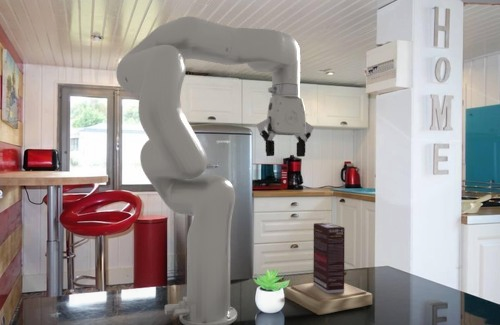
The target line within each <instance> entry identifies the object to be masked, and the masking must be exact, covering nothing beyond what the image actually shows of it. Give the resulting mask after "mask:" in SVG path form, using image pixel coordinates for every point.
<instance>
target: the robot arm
mask: <svg viewBox="0 0 500 325" xmlns="http://www.w3.org/2000/svg"><path fill="white" fill-rule="evenodd" d="M300 53H301V52H300V46H299V45H298V42H297V40H296V39H295V38H294V37H293V36H291V35H290V34H288V33H285V32H281V31H279V30H275V29H267V28H249V27H234V26H233V27H232V26H228V25H225V24H221V23H217V22H214V21H210V20H207V19H204V18H199V17H197V16H190V15H189V16H187V15H186V16H182V17H178V18H177V19H174V20H171V21H168V22H166V23H164V24H161V25H159V26H157V27H156V28H155V29H153V30H152V31H151V32H150V33H149V34H148V35H146V37H144V39H142V40H141V41H140V42H139V43H137V45H136V46H135V47H133V48H132V49H130V51H128V52H127V53H126V54H125V55H124V56H123V57H121V59H120V61H119V62H118V65H117V67H116V72H115V73H116V80H117V82H118V85H119V86H120V88H121V89H122V90H123V91H125V93H127V94H130V95H133V96H139V99H138V117H139V118H138V119H139V121H140V124H141V128H142V129H143V131H144V132H145V134H146V136H147V137H148V140H147V141H146V142H145V143H144V144H143V146H142V148H141V150H140V156H139V157H140V165H141V168H142V170H143V173H144V175H145V176H146V178H147V179H148V180H149V182H150V184H151V185H152V187H153V188H154V190H155V191H156V193H157V194H158V195H159V197H160V198H161V199H162V201H163V202H164V204H165V205H166V206H167V207H168V209H170V210H171V211H172V212H174V213H176V214H178V215H183V216H192V217H193V218H192V221H191V223H190V226H189V228H188V232H187V236H186V296H182V300H181V301H178V303H169V304H165V305H164V313H165V315H170V314H173V316H174V317H177V316H178V317H179V321H180V323H181V324H183V325H232V323H234V322H235V321H236V320H237V319H238V312H237V311H238V310H236V309H235V307H232V306H231V230H232V229H231V228H232V219H233V218H232V217H233V213H234V208H235V202H236V191H235V188H234V186H233V184H232V183H231V181H230V180H229V179H227V178H226V177H224V176H222V175H218V174H212V173H211V174H210V173H209V174H208V173H204V172H205V171H206V169H207V166H208V156H207V155H208V154H207V152H206V150H205V148H204V146H203V145H202V143H201V141H200V140H199V138H198V136H197V135H196V133H195V131H194V130H193V127H192V126H191V124H190V123H189V121H188V120H187V117H186V115H185V113H184V110H183V108H182V104H181V94H182V93H181V92H182V86H183V84H184V79H185V78H186V71H187V70H186V69H187V68H186V66H187V65H186V61H185V60H199V61H205V62H209V63H215V64H221V65H225V66H226V65H229V66H231V65H232V66H234V65H236V66H237V65H242V64H247V66H248V67H249V68H250V69H251V70H253V71H255V72H259V73H271V77H272V78H271V80H272V81H271V87H270V86H269V87H268V90H267V91H268V93H269V94H270V93H271V97H270V98H269V102H268V107H267V116H266V117H267V118H266V119H264V120H262V121H260V122H258V123H257V124H256V127H257V130H258V132H259V135H260V137H262V138H263V141H264V142H265V153H266V157H274V156H275V140H273V139H274V138H275V137H276V136H294V137H295V139H296V140H297V141H298V142H296V157H297V158H298V157H299V158H300V157H305V155H306V143H307V142H308V139H310V137H311V136H312V133H313V130H314V126H313V125H311V124H310V123H308V122H307V121H306V120H307V119H306V118H307V117H306V112H305V111H306V109H305V104H304V100H303V98H302V97H300V96H301V92H300V91H301V89H300V88H301V87H300V84H301V83H300V82H301V73H300V72H301V64H300V63H301V54H300ZM265 126H266V130H265Z"/></svg>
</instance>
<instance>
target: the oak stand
mask: <svg viewBox="0 0 500 325" xmlns="http://www.w3.org/2000/svg"><path fill="white" fill-rule="evenodd" d="M285 298H286V299H288V300H290V301H292V302H294V303H295V304H298V305H300V306H301V307H303V308H305V309H306V310H309V311H311V312H312V313H314V314H316V315H326V314H331V313H335V312H340V311H345V310H350V309H355V308H356V309H357V308H361V307H366V306H370V305H371V306H372V305H373V293H371V292H369V291H366V290H363V289H362V288H358V287H356V286H353V285H351V284H348V283H346V282H344V293H334V294H327V293H326V292H324V291H323V290H321V289H320V288H318V287H317V286H315V285H314V284H313V282H308V283H302V284H295V285H291V286H287V287H285Z"/></svg>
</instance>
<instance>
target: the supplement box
mask: <svg viewBox="0 0 500 325" xmlns="http://www.w3.org/2000/svg"><path fill="white" fill-rule="evenodd" d="M345 229H346V228H345V227H344V226H341V225H337V224H334V223H330V222H315V223H313V278H312V279H313V282H312V283H313V284H314V285H315V286H317V287H318V288H320V289H321V290H323V291H324V292H326V293H327V294H334V293H344V283H345V236H346V235H345V234H346V233H345Z"/></svg>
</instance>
